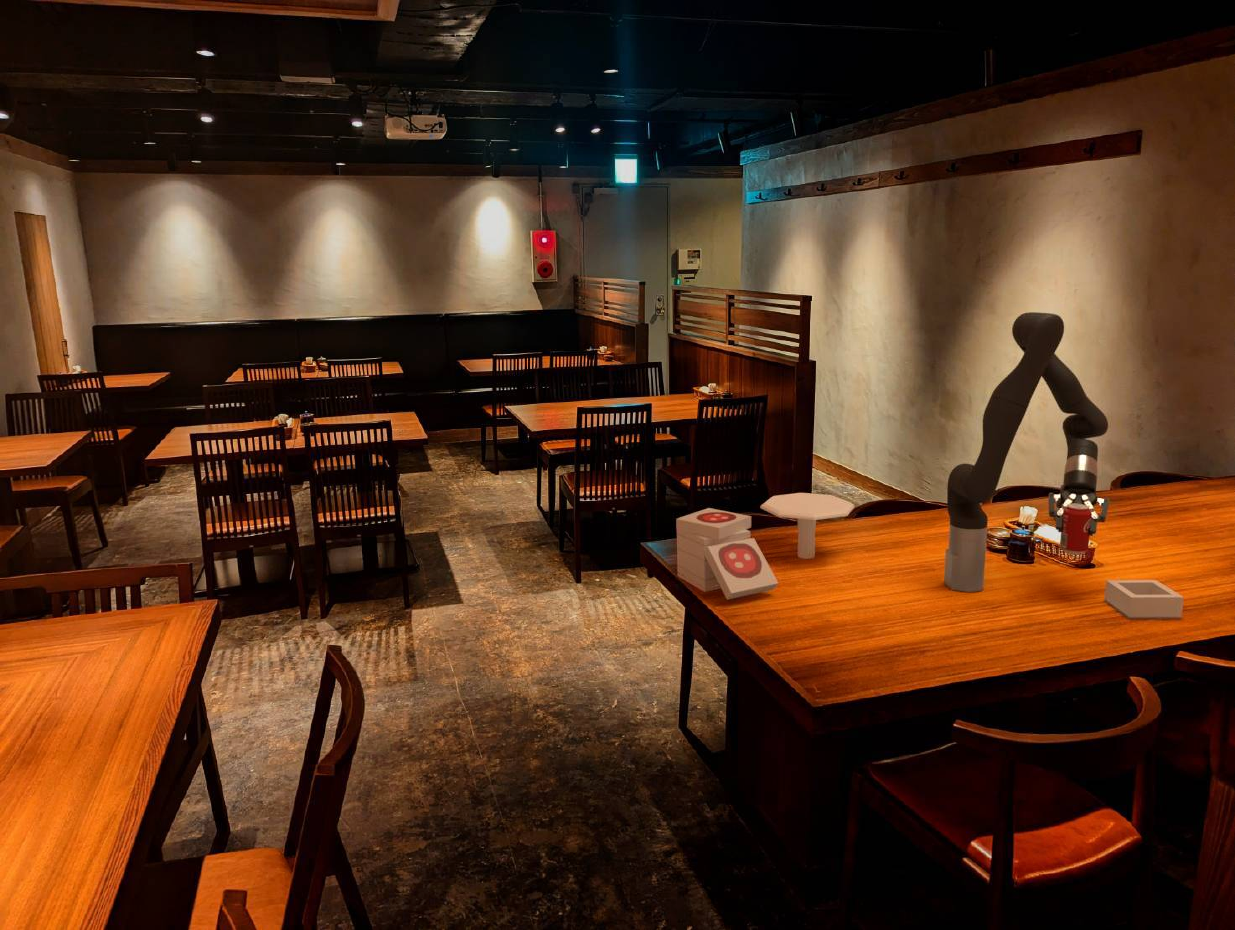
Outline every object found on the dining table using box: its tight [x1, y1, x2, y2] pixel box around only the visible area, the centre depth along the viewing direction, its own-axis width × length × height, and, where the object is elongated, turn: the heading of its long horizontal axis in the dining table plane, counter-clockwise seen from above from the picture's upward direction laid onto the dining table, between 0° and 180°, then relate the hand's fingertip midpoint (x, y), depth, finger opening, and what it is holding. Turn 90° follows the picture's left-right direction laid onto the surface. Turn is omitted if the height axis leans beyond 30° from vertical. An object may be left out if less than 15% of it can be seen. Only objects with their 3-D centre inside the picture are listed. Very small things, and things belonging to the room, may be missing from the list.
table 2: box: [760, 492, 855, 560], centre depth 255 cm, size 28×28×17 cm
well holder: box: [1104, 579, 1185, 620], centre depth 208 cm, size 12×12×6 cm
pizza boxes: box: [675, 507, 779, 601], centre depth 233 cm, size 19×30×18 cm, turn 26°
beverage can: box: [1059, 503, 1092, 556], centre depth 213 cm, size 6×6×12 cm
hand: (1075, 532), depth 211 cm, fingers closed on beverage can, 6 cm apart
